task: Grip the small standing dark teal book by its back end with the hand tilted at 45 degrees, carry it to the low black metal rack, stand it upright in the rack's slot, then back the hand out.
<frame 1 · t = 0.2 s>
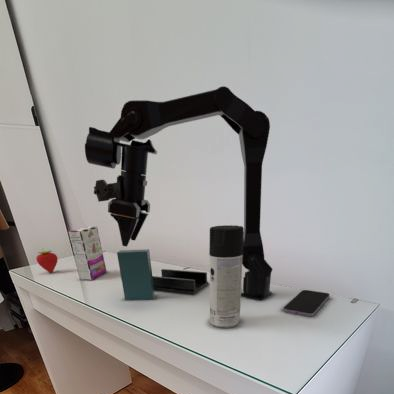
hand: (129, 242, 74), 15 cm above the table, tool pointing down, fingers open, 9 cm apart
black rack: (177, 287, 89), on the table
book: (140, 298, 82), on the table
strawberry: (51, 273, 113), on the table
candy bar box: (94, 276, 106), on the table
spray can: (225, 323, 64), on the table
smartphone: (306, 305, 72), on the table
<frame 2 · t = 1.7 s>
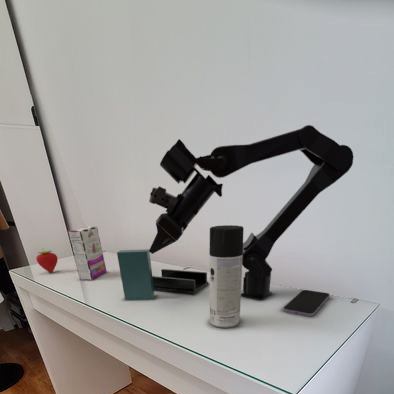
hand: (153, 249, 75), 13 cm above the table, tool tilted 45°, fingers open, 9 cm apart
nothing on the table moved.
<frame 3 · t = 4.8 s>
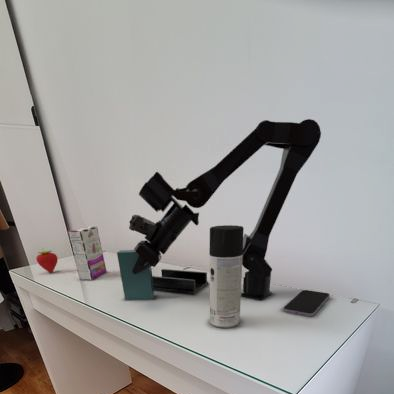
hand: (134, 271, 78), 8 cm above the table, tool tilted 45°, fingers closed on book, 3 cm apart
book: (140, 298, 82), on the table, touching gripper
everything else where it was.
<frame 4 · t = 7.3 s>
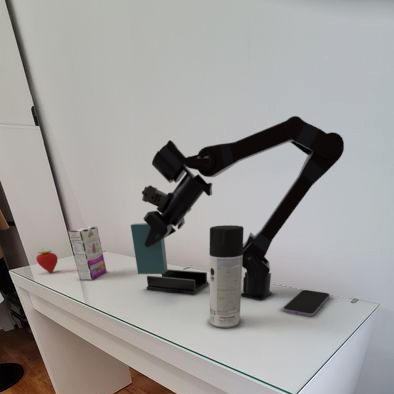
hand: (148, 245, 79), 14 cm above the table, tool tilted 45°, fingers closed on book, 3 cm apart
book: (152, 272, 82), point 6 cm above the table, touching gripper
everything else where it was.
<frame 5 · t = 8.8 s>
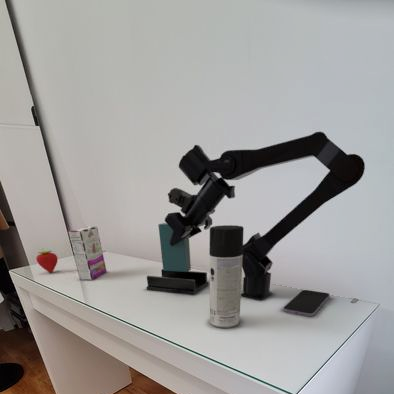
hand: (173, 243, 83), 13 cm above the table, tool tilted 45°, fingers closed on book, 3 cm apart
book: (176, 270, 87), point 5 cm above the table, touching gripper
everything else where it was.
when the fingers open (9 cm above the table, at t = 10.2 s): book stays where it is, resting on black rack.
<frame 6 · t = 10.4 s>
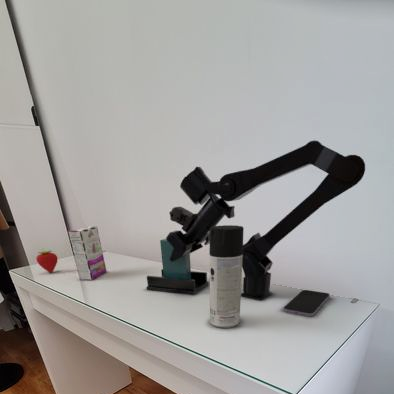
hand: (174, 259, 85), 9 cm above the table, tool tilted 45°, fingers open, 4 cm apart
book: (177, 283, 89), point 1 cm above the table, touching black rack
everything else where it was.
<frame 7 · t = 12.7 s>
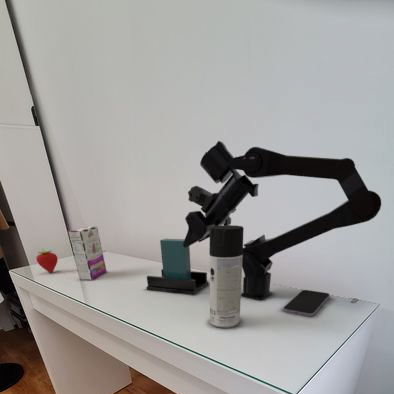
hand: (191, 243, 81), 13 cm above the table, tool tilted 45°, fingers open, 9 cm apart
nothing on the table moved.
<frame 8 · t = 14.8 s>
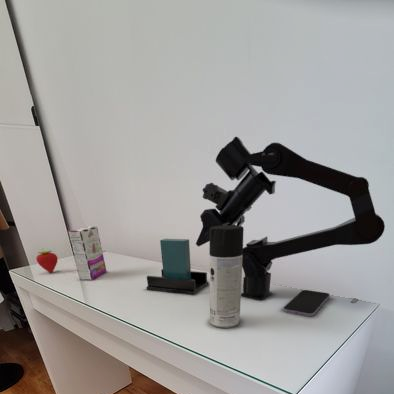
hand: (204, 242, 79), 14 cm above the table, tool tilted 45°, fingers open, 9 cm apart
nothing on the table moved.
at the end: book inside the target area on the black rack (0.1 cm from its centre), point 1.0 cm above the black rack's base; book tilted 0°; the gripper is holding nothing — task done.
